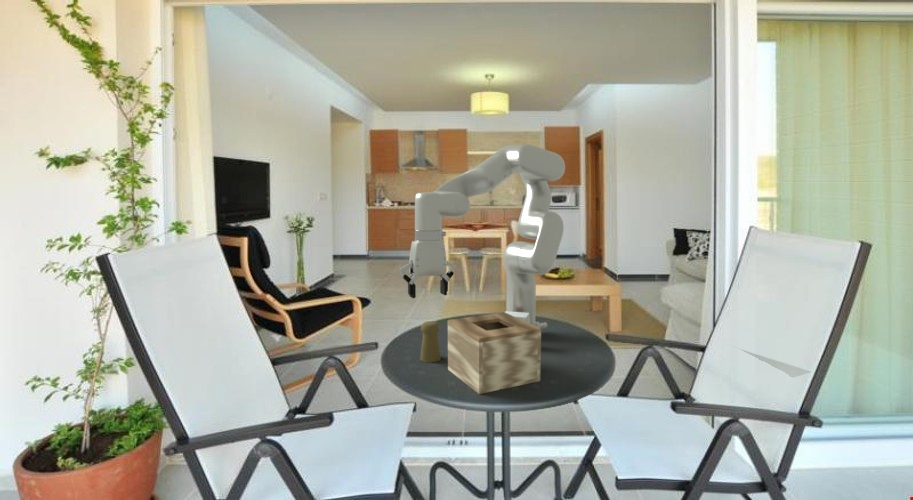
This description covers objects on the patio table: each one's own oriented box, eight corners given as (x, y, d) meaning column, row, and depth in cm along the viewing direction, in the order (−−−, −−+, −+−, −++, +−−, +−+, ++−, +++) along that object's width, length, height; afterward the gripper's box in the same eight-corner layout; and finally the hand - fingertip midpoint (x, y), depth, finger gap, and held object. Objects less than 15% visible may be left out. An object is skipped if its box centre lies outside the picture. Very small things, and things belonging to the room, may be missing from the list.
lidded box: (504, 359, 147) (504, 312, 145) (540, 380, 131) (541, 328, 129) (448, 369, 139) (447, 320, 137) (479, 394, 123) (479, 338, 121)
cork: (438, 363, 144) (437, 325, 143) (417, 361, 145) (416, 324, 144) (442, 355, 150) (442, 319, 149) (423, 354, 151) (422, 318, 150)
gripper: (450, 234, 150) (450, 290, 152) (394, 236, 142) (395, 295, 145) (461, 236, 143) (461, 295, 145) (403, 238, 136) (404, 301, 138)
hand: (428, 295), depth 145 cm, fingers open, 9 cm apart
